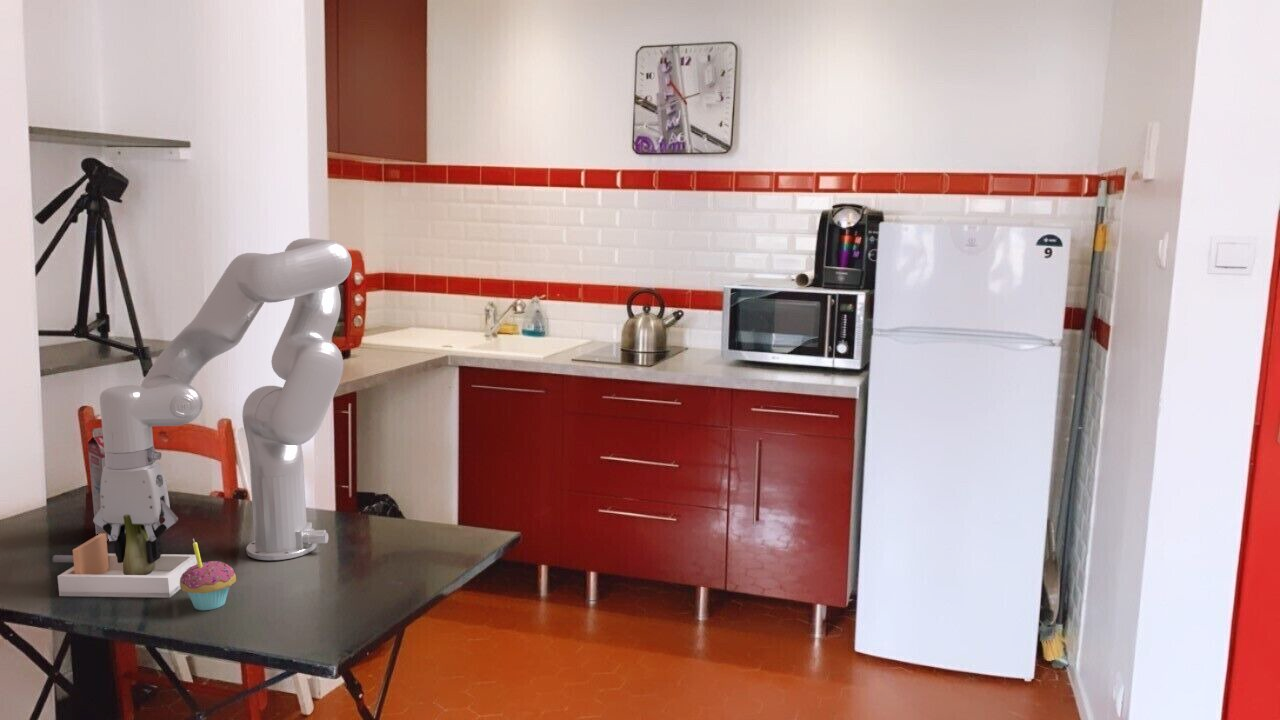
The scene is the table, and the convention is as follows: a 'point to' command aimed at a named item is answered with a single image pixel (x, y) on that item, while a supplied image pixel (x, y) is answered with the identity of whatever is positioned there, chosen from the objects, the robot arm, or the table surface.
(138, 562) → the fennel bulb
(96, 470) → the juice carton
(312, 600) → the table surface
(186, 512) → the table surface
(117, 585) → the white tray
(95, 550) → the pusher
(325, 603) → the table surface
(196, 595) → the cupcake
